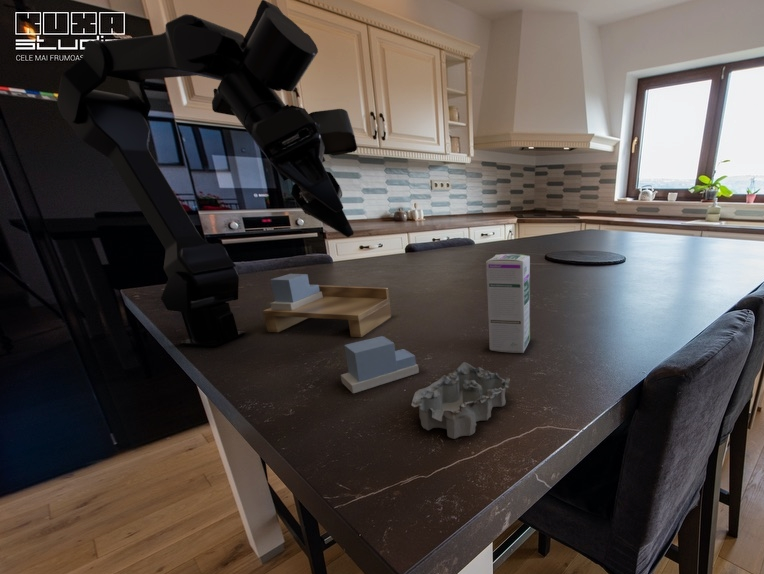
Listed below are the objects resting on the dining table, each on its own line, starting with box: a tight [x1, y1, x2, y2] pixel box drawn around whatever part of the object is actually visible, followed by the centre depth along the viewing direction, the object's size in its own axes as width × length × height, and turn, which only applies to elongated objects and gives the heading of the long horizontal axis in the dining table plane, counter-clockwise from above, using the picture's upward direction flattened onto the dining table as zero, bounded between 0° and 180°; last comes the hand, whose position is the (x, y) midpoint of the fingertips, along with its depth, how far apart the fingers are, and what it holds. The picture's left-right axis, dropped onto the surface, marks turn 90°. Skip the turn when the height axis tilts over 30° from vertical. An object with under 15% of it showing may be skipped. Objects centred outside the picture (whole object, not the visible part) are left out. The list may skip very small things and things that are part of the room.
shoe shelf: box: [262, 284, 392, 338], centre depth 74 cm, size 18×12×6 cm, turn 81°
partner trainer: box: [269, 273, 323, 310], centre depth 73 cm, size 9×4×5 cm, turn 171°
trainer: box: [340, 335, 420, 394], centre depth 53 cm, size 9×4×5 cm, turn 131°
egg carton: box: [411, 361, 511, 440], centre depth 45 cm, size 11×8×4 cm
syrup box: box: [485, 253, 531, 354], centre depth 62 cm, size 6×6×14 cm
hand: (346, 223), depth 51 cm, fingers open, 9 cm apart
